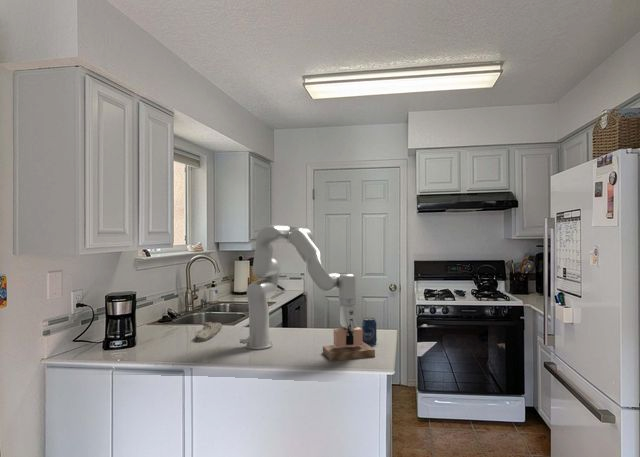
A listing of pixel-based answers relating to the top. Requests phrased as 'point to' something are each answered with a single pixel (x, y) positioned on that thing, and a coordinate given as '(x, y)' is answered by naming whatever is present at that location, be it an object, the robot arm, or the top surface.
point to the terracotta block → (341, 337)
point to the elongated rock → (208, 331)
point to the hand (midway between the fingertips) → (348, 342)
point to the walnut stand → (348, 352)
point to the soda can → (369, 331)
